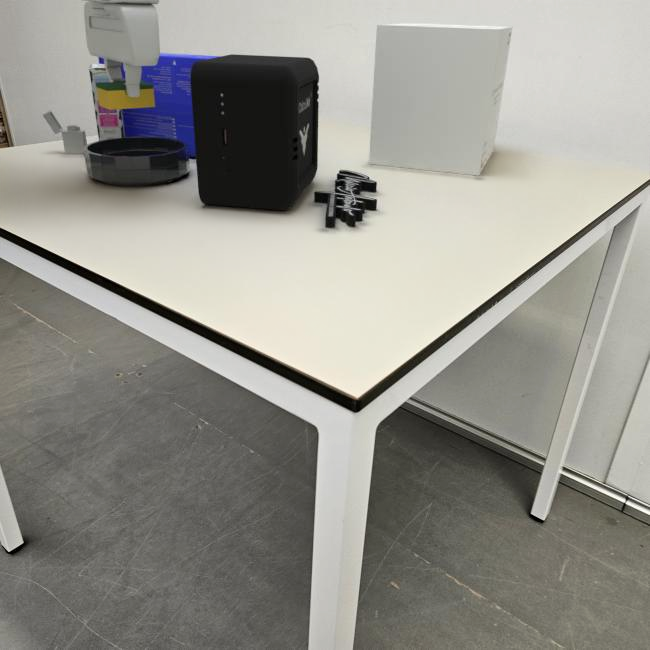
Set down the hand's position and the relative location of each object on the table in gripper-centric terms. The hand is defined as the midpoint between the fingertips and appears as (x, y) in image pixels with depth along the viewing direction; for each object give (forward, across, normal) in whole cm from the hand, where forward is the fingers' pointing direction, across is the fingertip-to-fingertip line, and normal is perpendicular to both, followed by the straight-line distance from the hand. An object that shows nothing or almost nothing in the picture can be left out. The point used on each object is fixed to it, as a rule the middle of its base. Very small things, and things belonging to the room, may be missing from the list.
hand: (125, 94), depth 90 cm
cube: (+15, +6, +62) cm, 64 cm away
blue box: (+15, -22, +20) cm, 33 cm away
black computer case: (+15, +11, +17) cm, 25 cm away
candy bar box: (+15, -28, +6) cm, 33 cm away
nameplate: (+15, +21, +26) cm, 37 cm away
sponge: (+2, 0, 0) cm, 2 cm away
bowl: (+15, -10, +4) cm, 19 cm away
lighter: (+15, -34, -1) cm, 38 cm away
